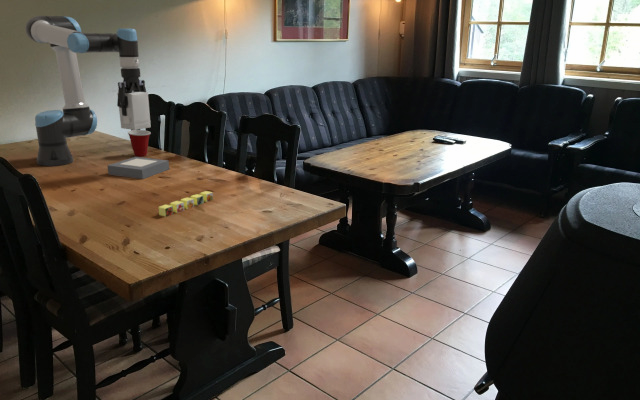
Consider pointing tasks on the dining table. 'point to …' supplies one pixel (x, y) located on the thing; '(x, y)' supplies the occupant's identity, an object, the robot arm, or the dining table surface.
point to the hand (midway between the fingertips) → (135, 121)
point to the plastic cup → (139, 141)
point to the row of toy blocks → (185, 203)
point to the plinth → (138, 167)
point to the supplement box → (137, 111)
